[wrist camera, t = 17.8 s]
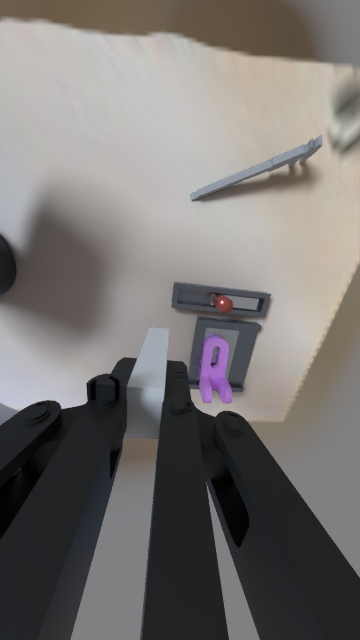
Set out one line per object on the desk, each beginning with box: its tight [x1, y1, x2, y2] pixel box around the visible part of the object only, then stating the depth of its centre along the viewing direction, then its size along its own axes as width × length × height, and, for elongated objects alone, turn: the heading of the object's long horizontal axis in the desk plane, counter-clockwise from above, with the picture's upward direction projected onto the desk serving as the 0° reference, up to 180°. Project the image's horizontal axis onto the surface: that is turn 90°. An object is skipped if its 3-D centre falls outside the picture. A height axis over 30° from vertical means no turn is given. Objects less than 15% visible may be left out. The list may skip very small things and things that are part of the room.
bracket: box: [199, 336, 232, 403], centre depth 37 cm, size 13×6×7 cm, turn 176°
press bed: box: [188, 316, 261, 392], centre depth 40 cm, size 14×18×2 cm
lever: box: [210, 293, 259, 313], centre depth 34 cm, size 10×3×6 cm, turn 83°
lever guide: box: [172, 282, 271, 317], centre depth 36 cm, size 20×5×2 cm, turn 83°
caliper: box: [190, 135, 322, 200], centre depth 28 cm, size 20×1×6 cm, turn 107°
